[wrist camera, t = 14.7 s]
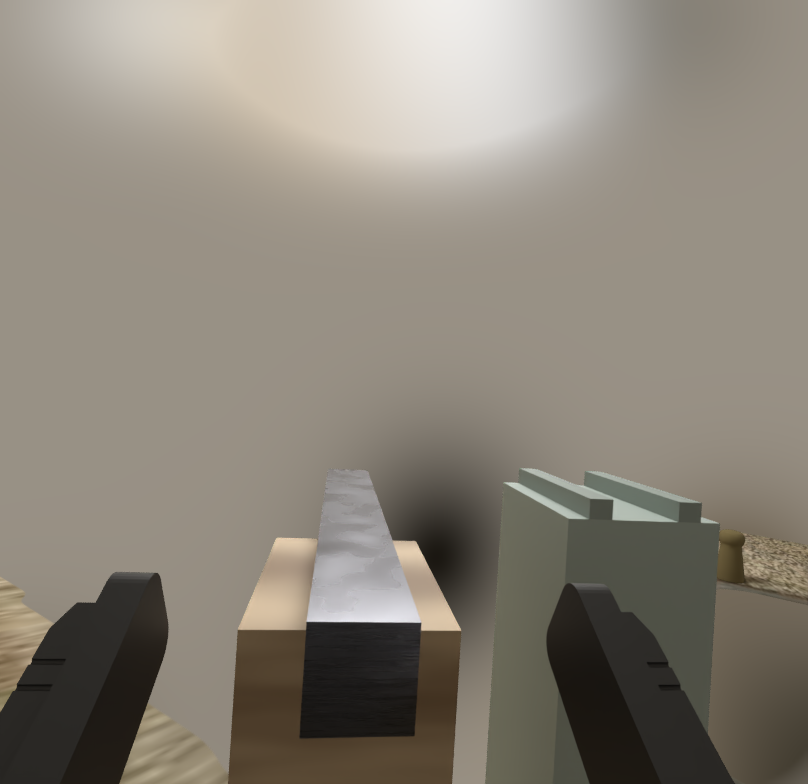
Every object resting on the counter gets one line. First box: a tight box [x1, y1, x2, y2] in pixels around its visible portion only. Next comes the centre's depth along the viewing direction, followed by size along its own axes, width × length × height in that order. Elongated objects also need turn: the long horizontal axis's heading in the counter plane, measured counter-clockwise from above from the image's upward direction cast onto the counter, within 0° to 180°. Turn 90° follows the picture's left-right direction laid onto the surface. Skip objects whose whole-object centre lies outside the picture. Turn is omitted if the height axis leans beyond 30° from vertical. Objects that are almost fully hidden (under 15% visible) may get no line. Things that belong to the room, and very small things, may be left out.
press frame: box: [485, 468, 720, 784], centre depth 30 cm, size 12×10×33 cm
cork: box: [717, 529, 745, 583], centre depth 119 cm, size 6×6×11 cm
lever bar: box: [299, 469, 421, 739], centre depth 22 cm, size 22×2×2 cm, turn 7°
